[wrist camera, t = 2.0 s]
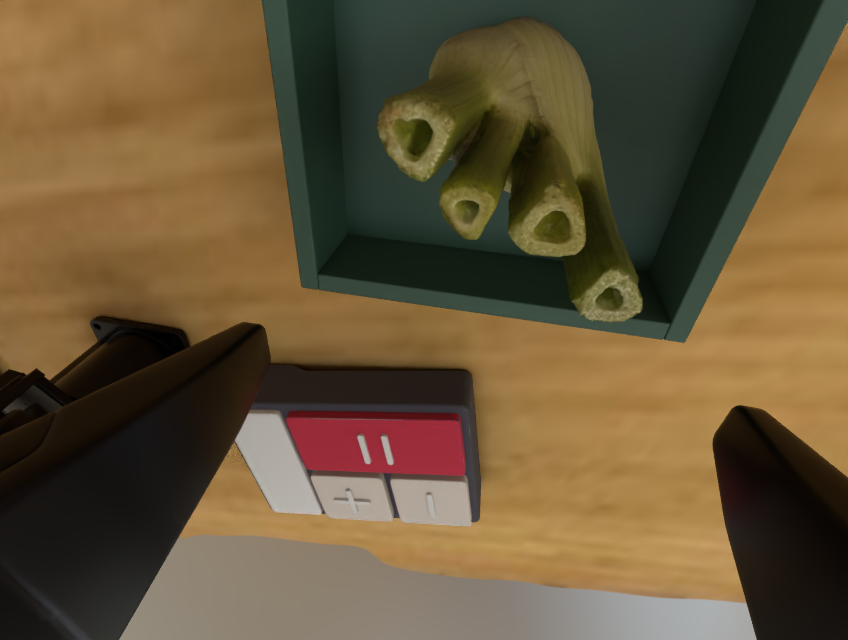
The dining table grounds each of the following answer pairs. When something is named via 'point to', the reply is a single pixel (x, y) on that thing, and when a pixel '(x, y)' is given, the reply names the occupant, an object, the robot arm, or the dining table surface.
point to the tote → (614, 127)
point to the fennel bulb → (518, 154)
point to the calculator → (366, 444)
